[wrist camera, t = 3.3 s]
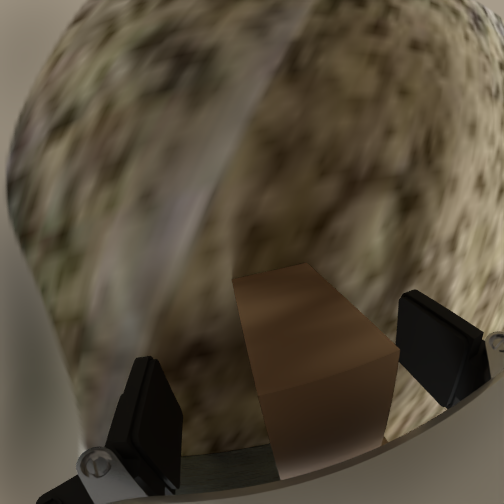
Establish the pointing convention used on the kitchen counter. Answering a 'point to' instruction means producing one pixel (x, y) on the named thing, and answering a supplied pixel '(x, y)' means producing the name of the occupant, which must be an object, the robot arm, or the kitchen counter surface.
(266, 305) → the walnut tile
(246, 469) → the grey slotted box
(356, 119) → the kitchen counter surface
